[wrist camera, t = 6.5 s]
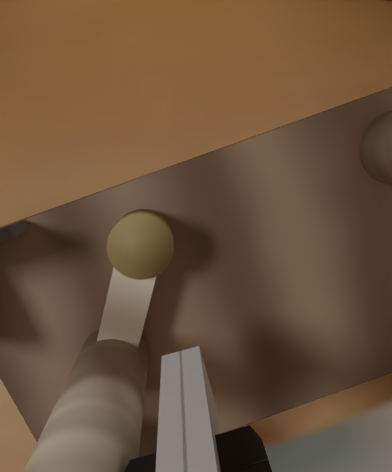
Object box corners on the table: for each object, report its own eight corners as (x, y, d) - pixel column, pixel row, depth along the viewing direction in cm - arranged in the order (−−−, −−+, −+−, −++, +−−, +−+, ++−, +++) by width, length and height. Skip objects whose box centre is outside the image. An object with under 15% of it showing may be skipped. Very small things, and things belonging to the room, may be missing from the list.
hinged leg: (114, 200, 14) (54, 241, 7) (186, 218, 14) (203, 275, 7) (75, 378, 16) (-7, 565, 8) (140, 390, 16) (116, 578, 9)
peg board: (76, 443, 20) (-23, 743, 10) (-34, 239, 17) (-356, 361, 7) (440, 313, 20) (729, 473, 10) (400, 84, 17) (765, -41, 7)
